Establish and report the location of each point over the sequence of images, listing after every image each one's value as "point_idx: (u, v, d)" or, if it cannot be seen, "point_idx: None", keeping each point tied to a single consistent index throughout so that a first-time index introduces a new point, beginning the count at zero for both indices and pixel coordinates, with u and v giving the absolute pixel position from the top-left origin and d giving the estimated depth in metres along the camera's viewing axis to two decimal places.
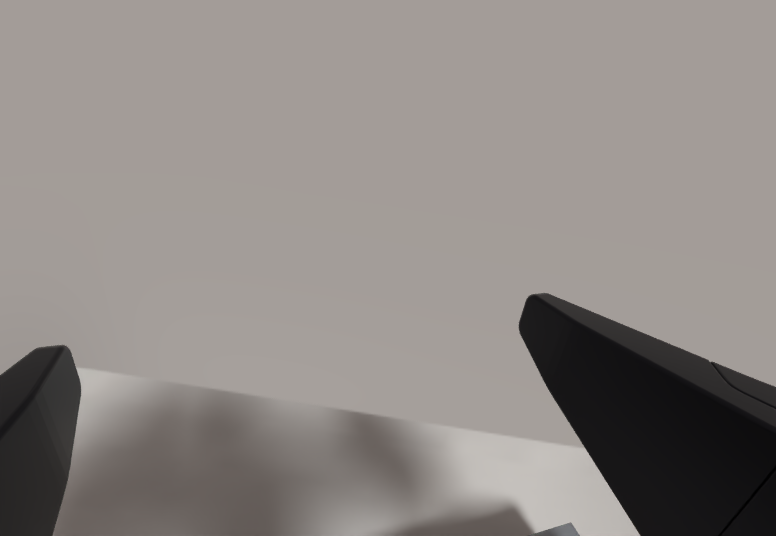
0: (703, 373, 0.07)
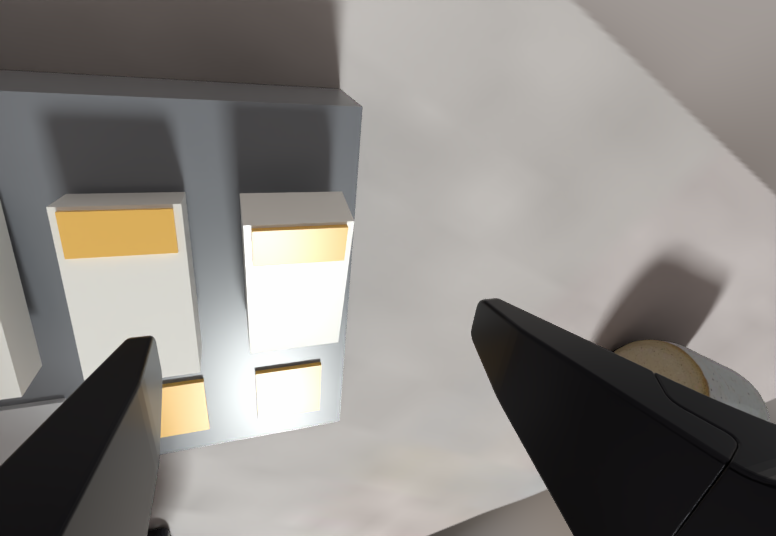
0: (643, 385, 0.07)
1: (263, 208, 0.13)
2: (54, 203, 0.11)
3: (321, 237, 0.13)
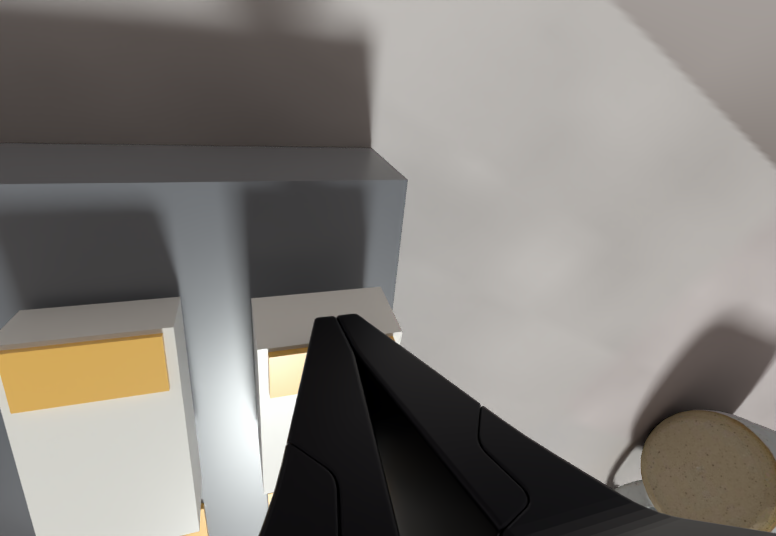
0: (457, 423, 0.06)
1: (283, 319, 0.10)
2: None
3: None
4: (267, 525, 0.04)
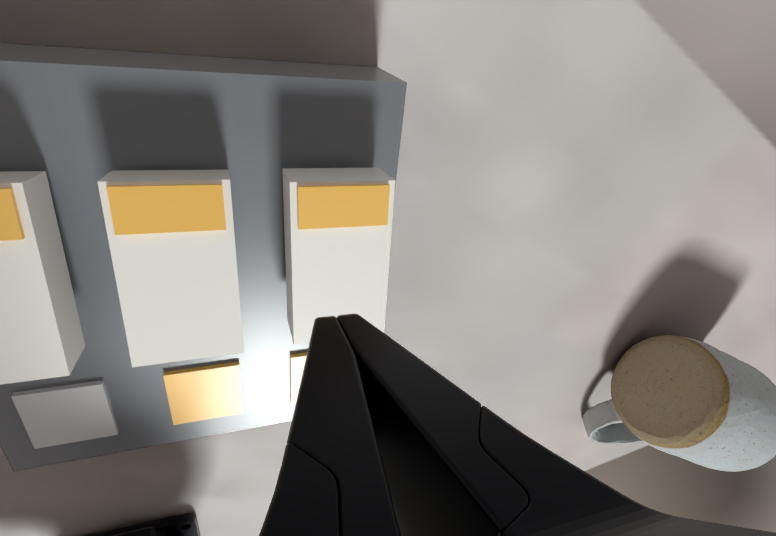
0: (458, 423, 0.06)
1: (306, 174, 0.13)
2: (103, 178, 0.11)
3: (364, 196, 0.13)
4: (268, 525, 0.04)
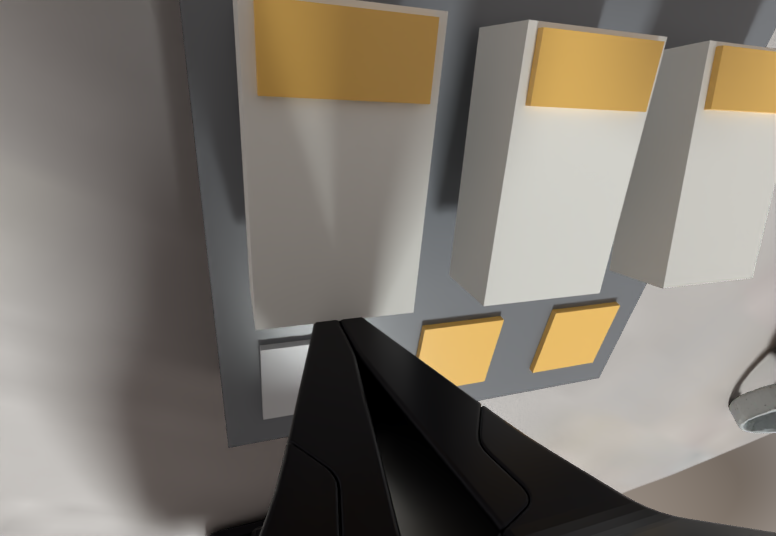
0: (458, 423, 0.06)
1: None
2: (516, 22, 0.08)
3: None
4: (268, 525, 0.04)
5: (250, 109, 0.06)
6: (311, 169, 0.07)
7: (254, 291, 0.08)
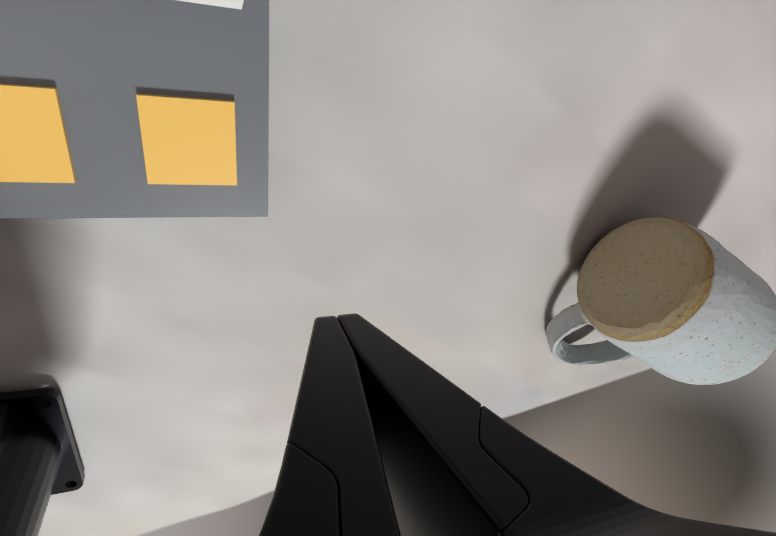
0: (458, 423, 0.06)
1: None
2: None
3: None
4: (268, 525, 0.04)
5: None
6: None
7: None
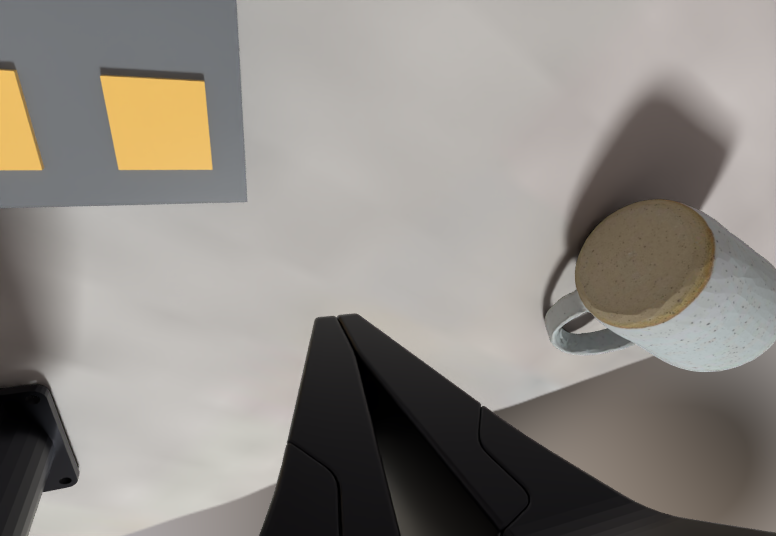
0: (458, 423, 0.06)
1: None
2: None
3: None
4: (268, 525, 0.04)
5: None
6: None
7: None
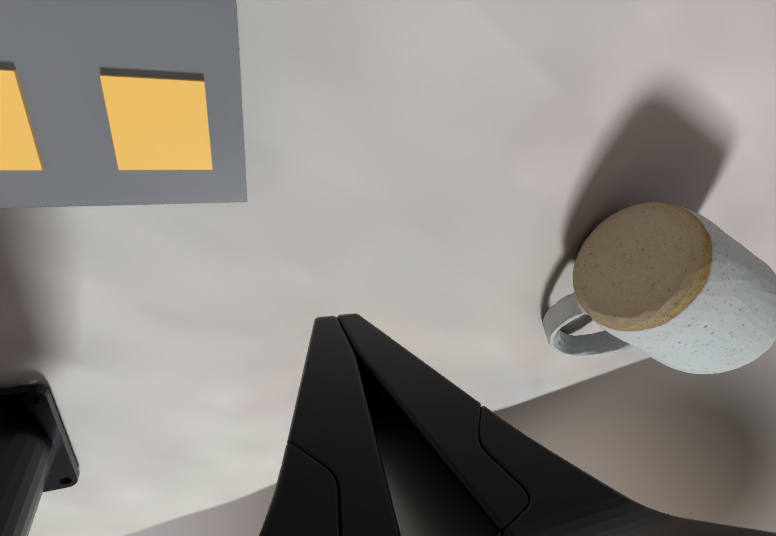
0: (458, 423, 0.06)
1: None
2: None
3: None
4: (268, 525, 0.04)
5: None
6: None
7: None
